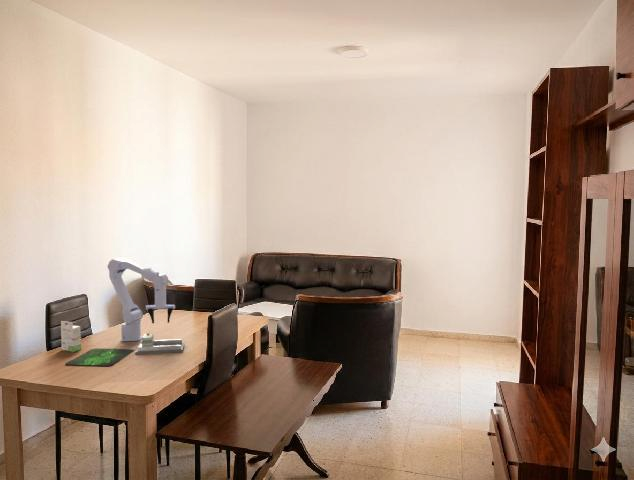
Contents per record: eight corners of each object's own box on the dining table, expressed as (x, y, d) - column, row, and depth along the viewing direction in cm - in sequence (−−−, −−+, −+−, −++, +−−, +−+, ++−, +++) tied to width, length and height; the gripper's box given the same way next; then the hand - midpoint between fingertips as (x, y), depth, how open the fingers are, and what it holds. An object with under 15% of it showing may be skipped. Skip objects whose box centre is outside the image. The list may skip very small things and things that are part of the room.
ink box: (81, 349, 255) (81, 320, 253) (73, 352, 250) (72, 322, 249) (69, 347, 258) (68, 318, 257) (61, 349, 254) (60, 320, 253)
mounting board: (135, 354, 247) (135, 351, 247) (139, 346, 260) (139, 344, 260) (182, 352, 252) (182, 349, 252) (184, 344, 264) (184, 342, 264)
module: (141, 350, 250) (141, 335, 250) (144, 345, 258) (143, 331, 258) (151, 349, 251) (151, 335, 251) (153, 345, 259) (153, 331, 259)
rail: (137, 351, 248) (137, 347, 248) (141, 344, 259) (141, 340, 259) (180, 349, 252) (180, 345, 252) (182, 342, 263) (182, 339, 263)
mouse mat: (93, 349, 257) (93, 346, 257) (136, 350, 256) (136, 347, 256) (63, 366, 230) (63, 364, 230) (111, 367, 229) (111, 365, 229)
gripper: (144, 298, 264) (145, 325, 265) (174, 298, 266) (174, 324, 267) (146, 296, 270) (147, 321, 271) (175, 295, 273) (175, 320, 274)
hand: (160, 322), depth 270 cm, fingers open, 7 cm apart
